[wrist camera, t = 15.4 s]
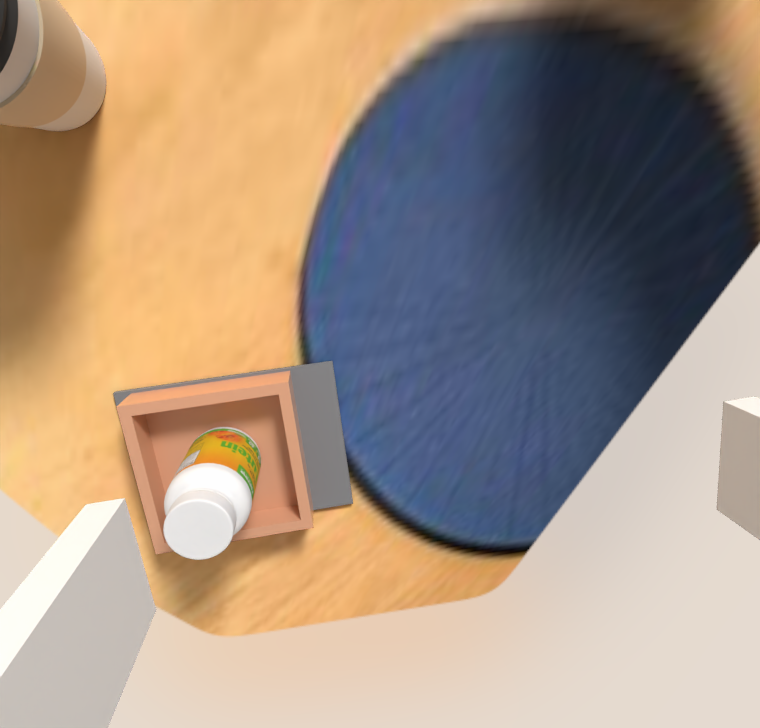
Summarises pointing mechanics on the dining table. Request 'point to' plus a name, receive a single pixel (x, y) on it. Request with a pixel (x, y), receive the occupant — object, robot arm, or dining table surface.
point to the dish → (211, 410)
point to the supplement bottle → (211, 493)
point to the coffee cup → (47, 68)
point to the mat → (306, 428)
